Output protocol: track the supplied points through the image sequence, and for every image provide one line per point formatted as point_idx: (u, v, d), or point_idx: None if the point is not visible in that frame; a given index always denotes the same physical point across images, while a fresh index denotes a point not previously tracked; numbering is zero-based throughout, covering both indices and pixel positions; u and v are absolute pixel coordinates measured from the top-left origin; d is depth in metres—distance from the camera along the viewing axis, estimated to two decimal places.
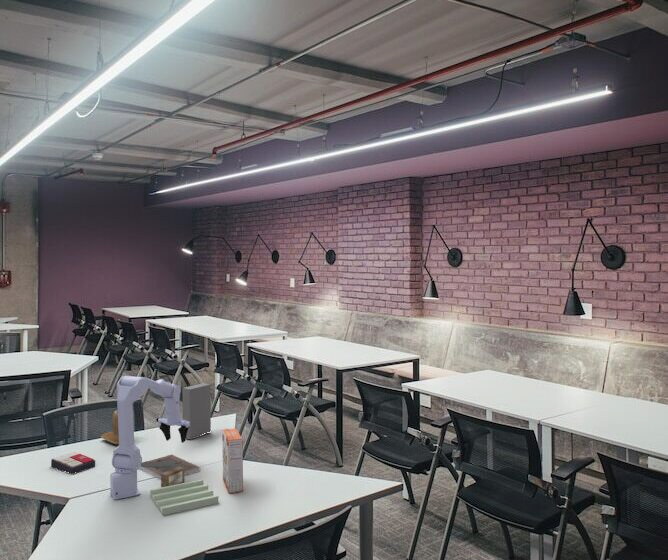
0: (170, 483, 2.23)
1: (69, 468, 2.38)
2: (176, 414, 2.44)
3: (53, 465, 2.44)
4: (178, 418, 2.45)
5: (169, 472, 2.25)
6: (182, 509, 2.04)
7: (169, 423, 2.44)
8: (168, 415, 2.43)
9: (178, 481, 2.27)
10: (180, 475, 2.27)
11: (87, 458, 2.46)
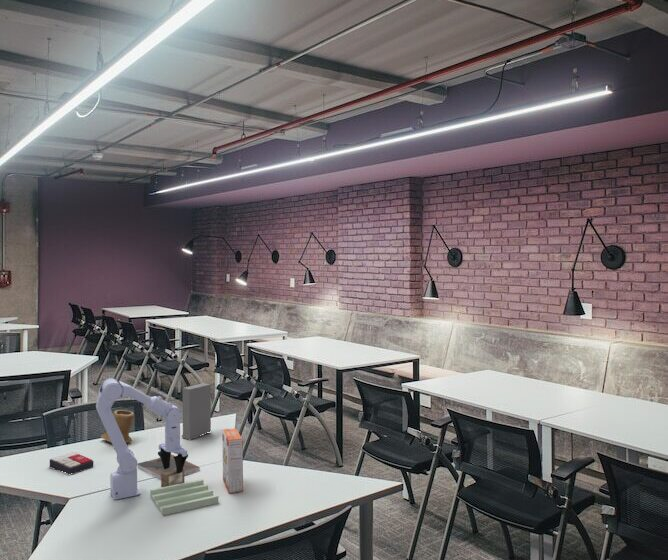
0: (170, 483, 2.23)
1: (67, 468, 2.38)
2: (174, 440, 2.23)
3: (51, 465, 2.44)
4: (176, 445, 2.24)
5: (169, 472, 2.25)
6: (182, 509, 2.04)
7: (166, 449, 2.24)
8: (166, 440, 2.24)
9: (178, 481, 2.27)
10: (180, 475, 2.27)
11: (85, 458, 2.46)
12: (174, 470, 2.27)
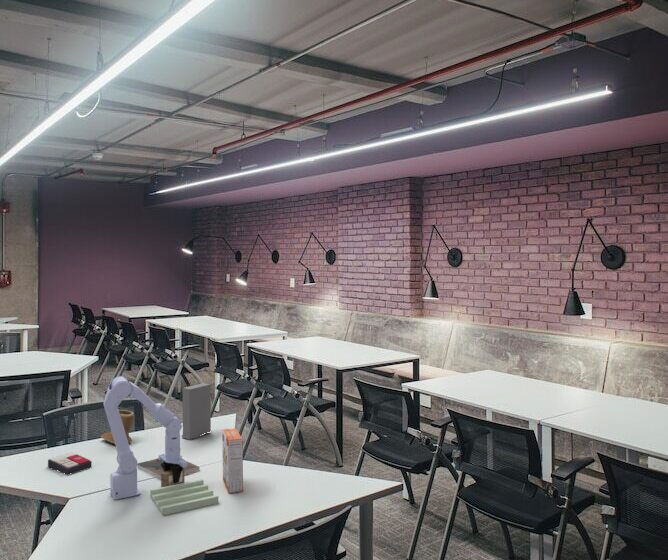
0: (170, 483, 2.23)
1: (64, 469, 2.37)
2: (174, 451, 2.24)
3: (50, 465, 2.44)
4: (176, 456, 2.24)
5: (169, 472, 2.25)
6: (182, 509, 2.04)
7: (166, 460, 2.24)
8: (166, 450, 2.24)
9: None
10: (180, 475, 2.27)
11: (83, 459, 2.45)
12: None
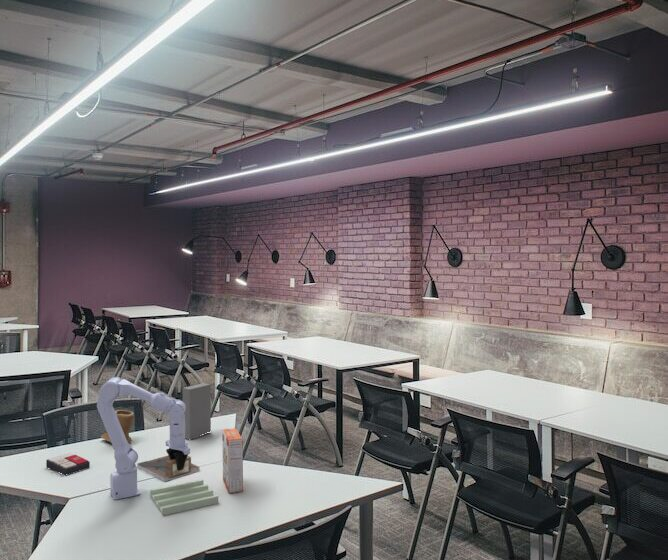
0: (174, 471, 2.18)
1: (62, 469, 2.37)
2: (178, 437, 2.17)
3: (48, 466, 2.43)
4: (180, 442, 2.18)
5: (174, 460, 2.19)
6: (182, 509, 2.04)
7: (170, 446, 2.18)
8: (170, 436, 2.18)
9: (184, 470, 2.21)
10: (186, 464, 2.21)
11: (81, 459, 2.45)
12: None
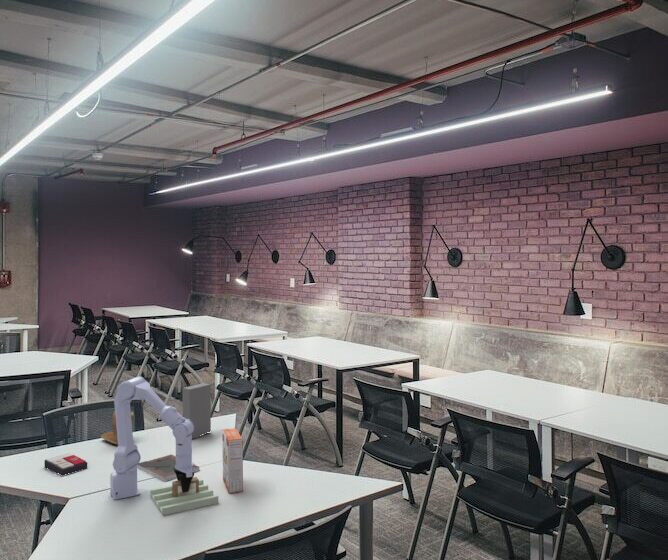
0: (179, 493, 2.11)
1: (60, 470, 2.36)
2: (182, 458, 2.10)
3: (46, 466, 2.43)
4: (184, 463, 2.11)
5: (180, 482, 2.12)
6: (182, 509, 2.04)
7: (175, 466, 2.12)
8: (176, 456, 2.12)
9: (190, 493, 2.13)
10: (193, 486, 2.14)
11: (79, 460, 2.44)
12: None
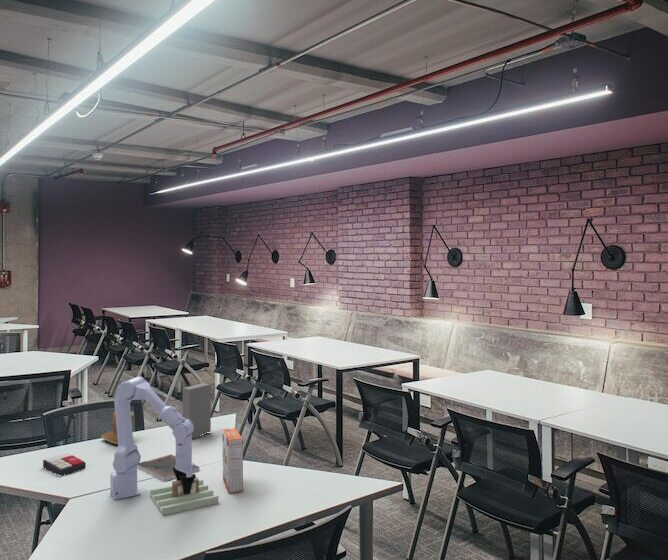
0: (179, 493, 2.11)
1: (58, 470, 2.36)
2: (182, 458, 2.10)
3: (44, 466, 2.43)
4: (184, 464, 2.11)
5: (180, 481, 2.12)
6: (182, 509, 2.04)
7: (175, 466, 2.12)
8: (176, 456, 2.12)
9: (190, 493, 2.13)
10: (193, 486, 2.14)
11: (78, 460, 2.44)
12: None
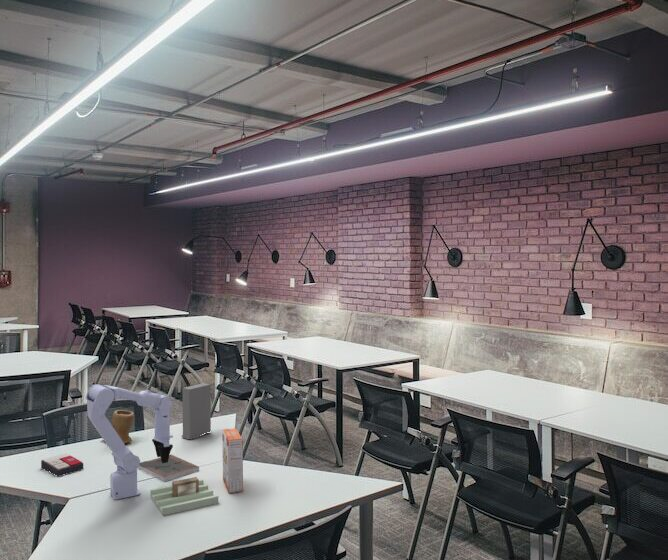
0: (179, 493, 2.11)
1: (55, 470, 2.36)
2: (160, 429, 2.25)
3: (42, 466, 2.43)
4: (162, 434, 2.25)
5: (180, 481, 2.12)
6: (182, 509, 2.04)
7: (154, 437, 2.27)
8: None
9: (190, 493, 2.13)
10: (193, 486, 2.14)
11: (75, 460, 2.43)
12: (187, 480, 2.14)
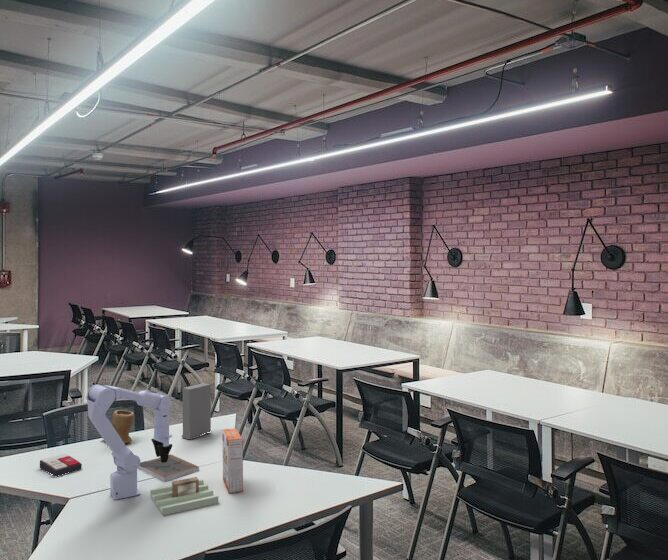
0: (179, 493, 2.11)
1: (53, 470, 2.35)
2: (160, 429, 2.26)
3: (41, 466, 2.43)
4: (162, 434, 2.26)
5: (180, 481, 2.12)
6: (182, 509, 2.04)
7: (154, 437, 2.27)
8: (154, 428, 2.27)
9: (190, 493, 2.13)
10: (193, 486, 2.14)
11: (74, 461, 2.43)
12: (187, 480, 2.14)
